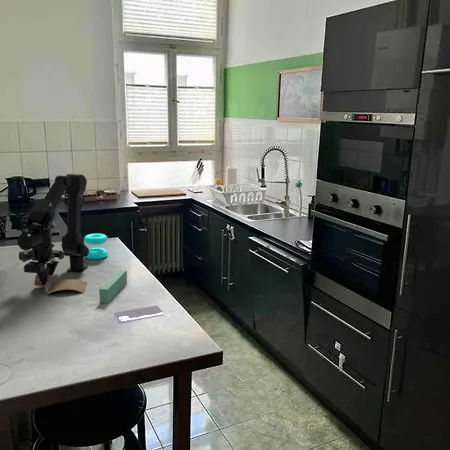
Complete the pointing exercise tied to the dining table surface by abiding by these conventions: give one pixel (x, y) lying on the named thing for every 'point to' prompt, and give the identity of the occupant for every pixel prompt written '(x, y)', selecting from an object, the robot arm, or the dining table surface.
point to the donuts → (96, 240)
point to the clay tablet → (69, 285)
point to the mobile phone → (138, 314)
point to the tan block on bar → (49, 282)
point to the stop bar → (113, 286)
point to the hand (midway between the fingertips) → (46, 283)
